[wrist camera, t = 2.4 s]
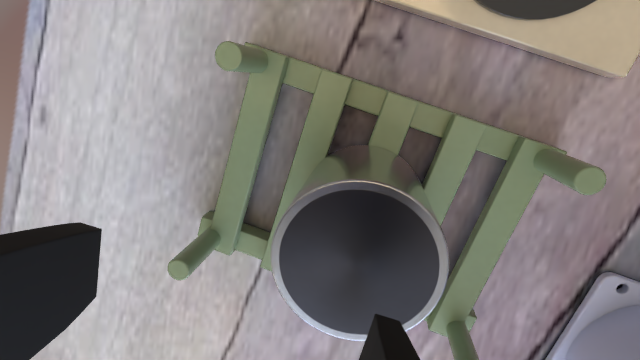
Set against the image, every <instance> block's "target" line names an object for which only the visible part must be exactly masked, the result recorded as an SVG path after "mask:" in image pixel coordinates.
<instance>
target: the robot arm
mask: <svg viewBox="0 0 640 360" xmlns="http://www.w3.org/2000/svg"><path fill="white" fill-rule="evenodd" d="M101 231H102V229H99V228H96V227H93V226H90V225H86V224H83V223H69V224H61V225H54V226H48V227H42V228H36V229H30V230H25V231H19V232H14V233H8V234H2V235H0V360H29V359H31V358H32V357H33V356H34V355H36V354H37V353H38V352H39V351H40V350H41V349H43V348H44V347H45V346H46V345H47V344H49V343H50V342H51V341H52V340H53V339H55V338H56V337H57V336H58V335H59V334H60V333H62V332H63V331H64V330H65V329H66V328H67V327H68V326H69V325H70V324H71V323H72V322H73V321H74V320H75V319H76V318H77V317H78V316H79V315H80V314H81V313H82V311H83V310H84V309H85V308H86V307H87V306H88V305H89V304H90V303H91V302H92V301H93V299H94V298H95V297H96V292H97V280H98V268H99V255H100V243H101ZM620 284H623V286H622V287H621V288H620V289H616V288H617V286H618V285H620ZM359 360H420V358H419V357H418V355H417V353H416V351H415V349H414V347H413V345H412V343H411V341H410V339H409V337H408V336H407V334H406V332H405V330H404V328H403V326H402V324H401V322H400V321H398V320H395V319H392V318H388V317H385V316H382V315H379V314H375V315H374V318H373V321H372V324H371V327H370V330H369V333H368V335H367V338H366V341H365V344H364V347H363V350H362V353H361V356H360V358H359ZM545 360H640V282H638V281H635V280H633V279H630V278H627V277H624V276H621V275H618V274H616V273H612V272H605V273H603V274H601V275H600V276H599V277H598V278H597V279H596V281H595V283H594V284H593V286H592V287H591V289H590V290H589V292H588V293H587V295H586V297H585V298H584V300H583V301H582V303H581V304H580V306H579V308H578V309H577V311H576V312H575V314H574V315H573V317H572V318H571V320H570V322H569V323H568V325H567V326H566V328H565V329H564V331H563V333H562V334H561V336H560V337H559V339H558V340H557V342H556V343H555V345H554V347H553V348H552V350H551V351H550V353H549V354H548V356H547V358H546V359H545Z"/></svg>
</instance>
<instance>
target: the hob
mask: <svg viewBox="0 0 640 360" xmlns="http://www.w3.org/2000/svg"><path fill="white" fill-rule="evenodd" d="M374 1H377V2H380V3H383V4H386V5H389V6H392V7H395V8H398V9H401V10H404V11H407V12H410V13H413V14H416V15H419V16H422V17H425V18H428V19H431V20H434V21H437V22H440V23H443V24H446V25H450V26H453V27H456V28H459V29H462V30H465V31H468V32H471V33H474V34H477V35H480V36H483V37H486V38H489V39H492V40H495V41H498V42H501V43H504V44H507V45H510V46H513V47H516V48H519V49H522V50H525V51H528V52H531V53H534V54H537V55H540V56H543V57H546V58H549V59H553V60H556V61H559V62H562V63H565V64H568V65H571V66H574V67H577V68H580V69H583V70H586V71H589V72H592V73H595V74H598V75H601V76H604V77H607V78H613V77H626V76H627V74H628V72H629V70H630V69H631V67H632V65H633V63H634V61H635V60H636V58H637V56H638V54H639V53H640V0H374Z"/></svg>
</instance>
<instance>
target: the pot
mask: <svg viewBox="0 0 640 360" xmlns="http://www.w3.org/2000/svg"><path fill="white" fill-rule="evenodd" d="M270 257H271V268H272V273H273V277H274V280H275V283H276V286H277V288H278V290H279V292H280V294H281V296H282V297H283V299H284V300H285V302H286V303H287V304H288V306H289V307H290V308H291V309H292V310H293V312H294V313H296V314H297V315H298V316H299V317H300V318H301V319H302V320H304V321H305V322H306V323H308V324H309V325H310V326H312V327H314V328H316V329H317V330H319V331H321V332H324V333H326V334H328V335H331V336H334V337H337V338H341V339H346V340H353V341H366V338H367V335H368V333H369V330H370V327H371V324H372V321H373V318H374V315H375V314H379V315H382V316H385V317H388V318H392V319H395V320H398V321H400V322H401V324H402V326H403V328H404V330H405V332H406V331H408V330H410V329H412V328H413V327H415V326H416V325H417V324H419V323H420V322H422V321H423V320H424V319H425V318H426V317H427V316H428V315H429V314H430V313H431V312H432V310H433V309H434V308H435V307H436V305H437V304H438V302H439V300H440V299H441V297H442V295H443V292H444V290H445V288H446V285H447V280H448V276H449V267H450V261H449V251H448V246H447V242H446V239H445V236H444V234H443V231H442V229H441V227H440V225H439V222H438V220H437V218H436V216H435V214H434V211H433V209H432V207H431V205H430V202H429V200H428V198H427V196H426V194H425V191H424V189H423V187H422V185H421V183H420V180H419V178H418V177H417V175H416V173H415V172H414V170H413V169H412V167H411V166H410V165H409V164H408V163H407V162H406V161H405V160H404V159H402V158H401V157H400V156H398V155H397V154H395V153H393V152H392V151H389V150H387V149H385V148H381V147H378V146H372V145H354V146H349V147H345V148H342V149H339V150H337V151H335V152H333V153H331V154H330V155H328V156H327V157H325V158H324V159H323V160H322V161H321V162H320V163H319V164H318V165H317V166H316V167H315V169H314V170H313V171H312V173H311V174H310V176H309V177H308V179H307V180H306V182H305V183H304V185H303V186H302V188H301V189H300V191H299V192H298V194H297V195H296V196H295V198H294V199H293V201H292V202H291V204H290V205H289V207H288V208H287V210H286V211H285V213H284V214H283V216H282V217H281V219H280V221H279V223H278V224H277V227H276V229H275V232H274V235H273V239H272V243H271V253H270Z"/></svg>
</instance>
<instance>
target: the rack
mask: <svg viewBox="0 0 640 360" xmlns="http://www.w3.org/2000/svg"><path fill="white" fill-rule="evenodd" d="M215 58H216V62H217V64H218V65H219V67H221V68H222V69H223V70H225V71H233V72H249V73H250V75H249V79H248V83H247V87H246V91H245V95H244V99H243V102H242V106H241V110H240V114H239V118H238V122H237V126H236V130H235V134H234V138H233V142H232V145H231V149H230V153H229V157H228V161H227V165H226V169H225V173H224V177H223V181H222V185H221V188H220V192H219V196H218V200H217V204H216V208H215V212H212V211H209V212H208V213H206V214H205V215H204V216H203V217H202V219H201V223H200V227H199V232H198V237H197V238H196V239H195V240H194V241H193V242H192V243H190V244H189V245H188V246H187V247H186V248H185V249H184V250H183V251H181V252H180V253H179V254H178V255H177V256H176V257H175V258H174V259H172V260H171V261H170V262H169V264H168V272H169V274H170V276H171V277H172V278H174V279H176V280H185V279H186V278H188V277H189V276H190V275H191V273H192V272H193V271H194V270H195V269H196V268H197V267H198V266H199V265H200V264H201V263H202V262H203V261H204V260H205V259H206V258H207V257H208V256H209V255H210V253H211V252H212V251H213V250H216V251H219V252H221V253H224V254H227V255H231V254H232V253H233V252H234V251H235V250H237V251H240V252H242V253H245V254H248V255H250V256H253V257H256V258H258V259H261V260H262V262H261V265H260V267H261V268H264V269H267V270H269V271H272V268H271V257H270V253H271V243H272V239H273V235H274V232H275V229H276V227H277V224H278V223H279V221H280V219H281V217H282V216H283V214H284V213H285V211H286V210H287V208H288V207H289V205H290V204H291V202H292V201H293V199H294V198H295V196H296V195H297V194H298V192H299V191H300V189H301V188H302V186H303V185H304V183H305V182H306V180H307V179H308V177H309V176H310V174H311V173H312V171H313V170H314V169H315V167H316V166H317V165H318V164H319V163H320V162H321V161H322V160H323V159H324V158H325V157H327V155H328V152H329V149H330V146H331V143H332V140H333V137H334V135H335V132H336V129H337V126H338V123H339V120H340V117H341V114H342V111H343V108H344V105H347V106H350V107H353V108H356V109H359V110H362V111H364V112H367V113H370V114H373V115H376V116H378V118H377V121H376V124H375V126H374V129H373V132H372V135H371V137H370V140H369V143H368V145H372V146H378V147H381V148H385V149H387V150H389V151H392V152H393V153H395V154H397V155H398V154H399V152H400V149H401V147H402V144H403V142H404V139H405V137H406V134H407V132H408V129H409V127H411V128H414V129H417V130H419V131H422V132H425V133H428V134H431V135H434V136H437V137H440V138H442V140H441V142H440V145H439V147H438V149H437V151H436V154H435V156H434V158H433V161H432V163H431V165H430V168H429V170H428V172H427V175H426V177H425V179H424V182H423V184H422V187H423V189H424V191H425V194H426V196H427V198H428V200H429V202H430V205H431V207H432V209H433V211H434V214H435V216H436V218H437V220H438V222H439V225H440V226H441V224H442V222H443V220H444V218H445V216H446V213H447V211H448V209H449V207H450V205H451V203H452V201H453V198H454V196H455V194H456V192H457V190H458V188H459V186H460V183H461V181H462V179H463V177H464V175H465V173H466V171H467V168H468V166H469V164H470V162H471V160H472V158H473V155H474V153H475V151H476V150H477V151H480V152H483V153H486V154H489V155H492V156H495V157H497V158H500V159H503V160H506V161H507V162H506V164H505V166H504V168H503V170H502V172H501V174H500V176H499V178H498V180H497V182H496V184H495V186H494V188H493V190H492V192H491V194H490V196H489V198H488V200H487V202H486V204H485V206H484V208H483V210H482V212H481V214H480V216H479V218H478V220H477V222H476V224H475V226H474V228H473V230H472V232H471V234H470V236H469V238H468V240H467V242H466V244H465V246H464V248H463V250H462V252H461V254H460V256H459V258H458V260H457V262H456V264H455V266H454V268H453V270H452V272H451V274H450V276H449V278H448V280H447V285H446V288H445V290H444V292H443V295H442V297H441V299H440V300H439V302H438V304H437V305H436V307H435V308H434V309H433V310H432V312H431V313H430V314H429V315H428V316H427V317H426V318H425V319H424V320H425V321H427V324H428V328H429V330H430V331H432V332H435V333H438V334H441V335H443V336H446V337H448V339H449V342H450V346H451V349H452V353H453V356H454V360H479V358H478V355H477V353H476V350H475V347H474V345H473V342H472V339H471V337H470V334H469V332H470V330H471V328H472V326H473V325H474V323H475V321H476V319H477V317H476V315H475V312H474V310H473V306H474V304H475V302H476V300H477V298H478V296H479V295H480V293H481V291H482V289H483V287H484V285H485V283H486V282H487V280H488V278H489V276H490V274H491V272H492V270H493V268H494V267H495V265H496V263H497V261H498V259H499V257H500V255H501V253H502V252H503V250H504V248H505V246H506V244H507V242H508V240H509V239H510V237H511V235H512V233H513V231H514V229H515V227H516V225H517V224H518V222H519V220H520V218H521V216H522V214H523V212H524V211H525V209H526V207H527V205H528V203H529V201H530V199H531V197H532V196H533V194H534V192H535V190H536V188H537V186H538V184H539V182H540V181H541V179H542V177H543V175H544V174H546V175H548V176H549V177H551V178H553V179H555V180H557V181H558V182H560V183H562V184H564V185H566V186H568V187H569V188H571V189H573V190H575V191H577V192H579V193H580V194H583V195H592V194H595V193H597V192H599V191H600V190H602V189H603V187H604V186H605V184H606V175H605V173H604V171H603V170H602V169H600V168H599V167H596V166H593V165H591V164H588V163H586V162H583V161H581V160H578V159H575V158H573V157H570V156H568V155H566V154H567V152H566V151H564V150H561V149H558V148H556V147H553V146H550V145H547V144H544V143H541V142H538V141H535V140H532V139H529V138H526V137H523V136H520V135H518V134H515V133H512V132H509V131H506V130H503V129H500V128H497V127H494V126H491V125H488V124H485V123H482V122H479V121H477V120H474V119H471V118H468V117H465V116H462V115H459V114H456V113H453V112H450V111H447V110H444V109H441V108H439V107H436V106H433V105H430V104H427V103H424V102H421V101H418V100H415V99H412V98H409V97H406V96H403V95H401V94H398V93H395V92H392V91H389V90H386V89H383V88H380V87H377V86H374V85H371V84H368V83H365V82H362V81H360V80H357V79H354V78H351V77H348V76H345V75H342V74H339V73H336V72H333V71H330V70H327V69H324V68H322V67H319V66H316V65H313V64H310V63H307V62H304V61H301V60H298V59H295V58H292V57H289V56H286V55H283V54H281V53H278V52H275V51H272V50H269V49H266V48H263V47H260V46H257V45H254V44H251V43H248V42H245V44H244V45H242V44H238V43H234V42H231V41H226V42H223V43H221V44H220V45H219V46H218V47H217V49H216V52H215ZM282 83H284V84H286V85H289V86H292V87H295V88H298V89H301V90H304V91H307V92H310V93H312V94H314V95H313V98H312V102H311V105H310V108H309V111H308V115H307V118H306V121H305V124H304V127H303V131H302V134H301V137H300V140H299V143H298V147H297V150H296V153H295V156H294V159H293V163H292V166H291V169H290V172H289V175H288V179H287V182H286V185H285V188H284V191H283V195H282V198H281V201H280V204H279V207H278V211H277V214H276V217H275V220H274V223H273V227H272V230H271V233H270V232H267V231H264V230H261V229H259V228H256V227H253V226H251V225H248V224H245V223H243V220H244V217H245V213H246V210H247V206H248V203H249V199H250V196H251V192H252V188H253V185H254V181H255V178H256V174H257V171H258V167H259V164H260V160H261V157H262V153H263V150H264V146H265V143H266V139H267V136H268V132H269V129H270V125H271V122H272V118H273V115H274V111H275V108H276V104H277V100H278V97H279V93H280V90H281V86H282Z"/></svg>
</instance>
